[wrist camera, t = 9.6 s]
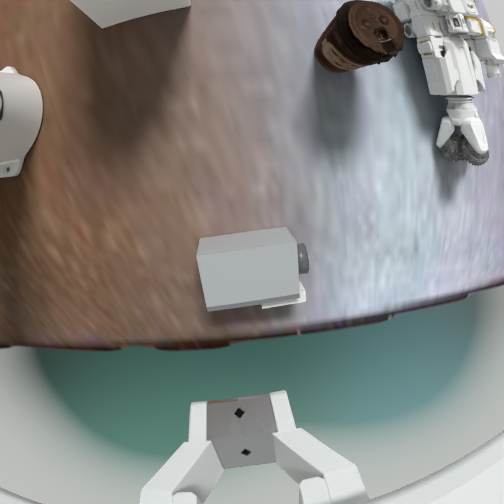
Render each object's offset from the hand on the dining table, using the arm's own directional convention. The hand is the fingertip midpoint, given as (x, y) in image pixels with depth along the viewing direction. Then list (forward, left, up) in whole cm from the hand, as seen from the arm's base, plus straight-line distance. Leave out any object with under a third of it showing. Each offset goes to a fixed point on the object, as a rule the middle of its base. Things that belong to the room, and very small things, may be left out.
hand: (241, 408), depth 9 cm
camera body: (+2, -8, -34) cm, 35 cm away
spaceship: (+37, +21, -34) cm, 55 cm away
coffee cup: (+18, +20, -34) cm, 44 cm away
